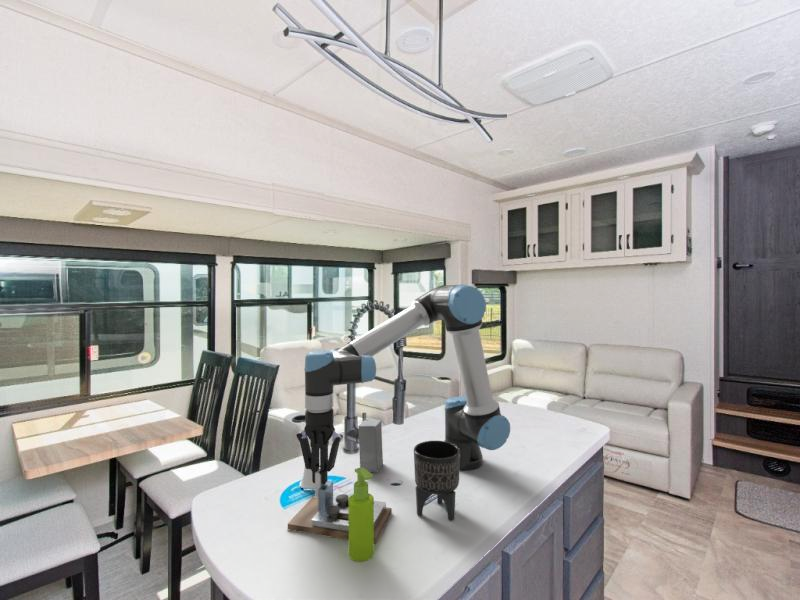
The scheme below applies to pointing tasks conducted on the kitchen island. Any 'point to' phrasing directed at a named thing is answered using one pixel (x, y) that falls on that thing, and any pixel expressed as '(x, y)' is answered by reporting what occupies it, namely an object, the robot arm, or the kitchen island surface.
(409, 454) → the kitchen island surface
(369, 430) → the skincare box
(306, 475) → the salt shaker
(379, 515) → the slider knob panel
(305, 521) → the board
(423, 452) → the planter
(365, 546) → the soap dispenser
